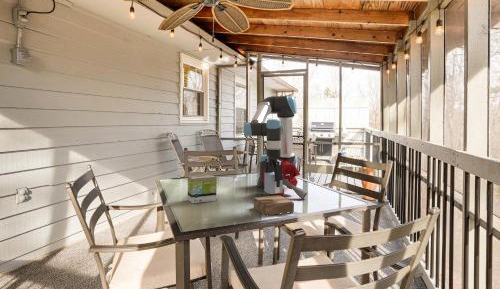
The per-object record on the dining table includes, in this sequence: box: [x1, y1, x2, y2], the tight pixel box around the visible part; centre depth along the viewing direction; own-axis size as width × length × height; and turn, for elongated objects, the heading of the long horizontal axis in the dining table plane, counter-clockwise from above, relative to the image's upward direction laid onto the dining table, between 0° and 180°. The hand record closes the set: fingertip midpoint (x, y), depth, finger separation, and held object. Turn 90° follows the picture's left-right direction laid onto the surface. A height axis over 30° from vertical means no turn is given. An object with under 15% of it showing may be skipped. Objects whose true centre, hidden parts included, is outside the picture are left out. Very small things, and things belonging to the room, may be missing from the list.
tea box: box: [187, 174, 217, 204], centre depth 187 cm, size 15×10×15 cm, turn 117°
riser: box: [253, 195, 295, 217], centre depth 168 cm, size 16×16×6 cm
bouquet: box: [262, 160, 308, 200], centre depth 196 cm, size 22×24×30 cm
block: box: [263, 172, 284, 195], centre depth 167 cm, size 7×7×10 cm
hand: (273, 191), depth 167 cm, fingers closed on block, 7 cm apart
